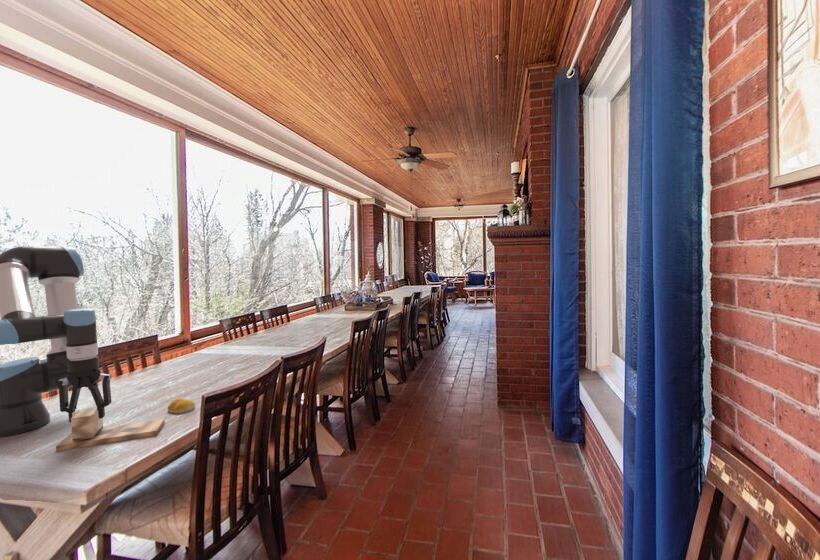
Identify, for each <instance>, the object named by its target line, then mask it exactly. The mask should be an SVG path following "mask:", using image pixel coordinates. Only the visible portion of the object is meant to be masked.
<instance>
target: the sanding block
mask: <svg viewBox="0 0 820 560" xmlns="http://www.w3.org/2000/svg"><path fill="white" fill-rule="evenodd" d="M96 408H97V406H96V407H89V408H82V409H81V410H79V413H77V414H76V415H75V416H73V417H72V418H71V424H70V426H71V433H72V440H73V441H75V440H82V439H88V438H93V437H94V436H95V435H96V434H97V433H98V432H99V431H100V430H101V429H102V428H104V422H103V418H104V417H103V418H102V427H101V428H100V429H99V430H96V424H95V411H94V410H95V409H96Z"/></svg>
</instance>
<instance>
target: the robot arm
mask: <svg viewBox="0 0 820 560" xmlns="http://www.w3.org/2000/svg"><path fill="white" fill-rule="evenodd" d="M84 270H85V269H84V263H83V259H82V257H81V254H80V251H78V249H77V248H75V247H74V246H73V247H72V246H61V245H59V246H29V245H24V246H15V247H12V248H9V249H7V250H5V251H3V252H1V253H0V346H3V345H4V346H5V345H16V344H22V343H31V342H37V341H45V340H49V341H50V350H49V351H48V352H47V353H46V355H45V357H46V358H45V359H42V360H41V359H40V358H39V357H38V356H29V357H22V358H18V359H15V360H14V359H13V360H11V361H8V362H4V363H1V364H0V437H1V438H2V437H8V436H9V437H10V436H15V435H19V434H23V433H26V432H30V431H33V430H36V429H39V428H41V427H43V426H45V425H47V424H48V423H50V422H51V415H50V413H49V410H48V408H47V407H46V405H45V404H44V402H43V397H42V394H43V393H48V392H49V393H50V392H53V391H58V394H59V395H58V396H59V411H60V412H61V413H64V412H65V413H68V422H69V423H71V418H72V417H73V416H75V415H76V414H77V413H79V412H80V409H78V408H77V406H78V402H79V399H80V394H81V390H82V388H87V389H88V390H89V392H90V393H91V396H92V398H93V401H94V403H95V406H96V407H97V408H96V407H95V408H96V409H95V410H94V411H95V424H96V430H99V429H100V428H101V427H102V418H104V417H106V413H105V411H106V410H105V408H106V407H108V406H109V405H110V404H111V403H112V393H111V378H112V374H111V373H107V374H106V373H102V372H101V371H100V361H99V360H100V359H99V356H98V355H99V348H98V347H99V346H98V336H97V335H98V334H97V317H96V311H95V309H94V308H90V307H89V308H87V307H86V308H79V307H78V301H77V300H78V299H77V293H76V292H77V291H76V290H77V289H76V285H77V283H79V281H80V277H82V276H84V273H85V271H84ZM29 278H30V279H31V278H34V279H35V278H37V279H38V280H37V281H38V283H39V284H40V285H42V286H43V287H44V291H45V302H46V303H45V304H46V312H47V315H42V316H41V315H40V316H35V312H34V311H35V309H34V306H33V303H32V302H33V301H32V297H31V293H30V288H29V284H28V280H29ZM99 379H100V380H101V382H102V384H101V385H102V387H101V388H102V394H101V391H100V389H99V384H98V380H99ZM68 388H69V389H70V388H72V389H71V396H70V400H69V389H68Z"/></svg>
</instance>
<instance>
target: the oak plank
mask: <svg viewBox="0 0 820 560" xmlns="http://www.w3.org/2000/svg"><path fill="white" fill-rule="evenodd" d="M165 421H166V420H165V418H162V419H152V420H146V421H142V422H132V423H127V424H121V425H113V426H106V427H103V428H102V429H101V430H100V431H99V432H98V433H97V434H96V435H95V436H94V437H93V438H88V439H82V440H75V441H73V440H72V432H70V433H69V434H68V435H67V436H66V437H65V438H63V440H61V441H60V442H59V443H58V444H57V445H55V449H56V450H55V451H56V452H60V451H65V450H71V449H78V448H84V447H89V446H97V445H102V444H109V443H116V442H121V441H129V440H134V439H141V438H146V437H147V438H148V437H153V436H158V435H159V434H160V431H161V430H162V428H163V426H164V425H165V423H166V422H165Z"/></svg>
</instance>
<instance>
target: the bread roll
mask: <svg viewBox="0 0 820 560" xmlns="http://www.w3.org/2000/svg"><path fill="white" fill-rule="evenodd" d="M194 408H195V402H194V400H192V399H185V398H177V399H174V400H173V401H171V402H170V403H169V404H168V406H167V411H168V412H169V413H171V414H172V413H173V414H183V413H186V412H190V411H192V410H193V409H194Z"/></svg>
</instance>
